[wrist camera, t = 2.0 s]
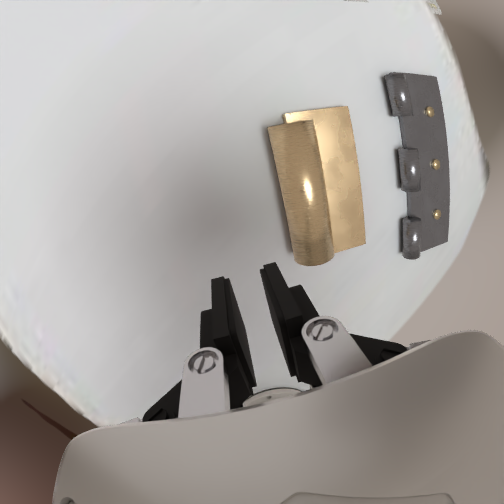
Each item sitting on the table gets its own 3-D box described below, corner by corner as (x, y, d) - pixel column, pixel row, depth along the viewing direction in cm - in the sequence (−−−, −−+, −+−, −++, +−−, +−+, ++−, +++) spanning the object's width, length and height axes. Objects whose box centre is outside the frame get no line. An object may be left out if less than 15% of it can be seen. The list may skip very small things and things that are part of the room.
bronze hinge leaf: (360, 240, 32) (379, 254, 28) (291, 260, 31) (302, 278, 27) (342, 107, 25) (363, 103, 21) (260, 119, 25) (270, 114, 21)
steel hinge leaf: (444, 239, 33) (455, 246, 31) (398, 256, 33) (409, 264, 31) (432, 77, 24) (445, 75, 21) (379, 72, 23) (391, 69, 21)
